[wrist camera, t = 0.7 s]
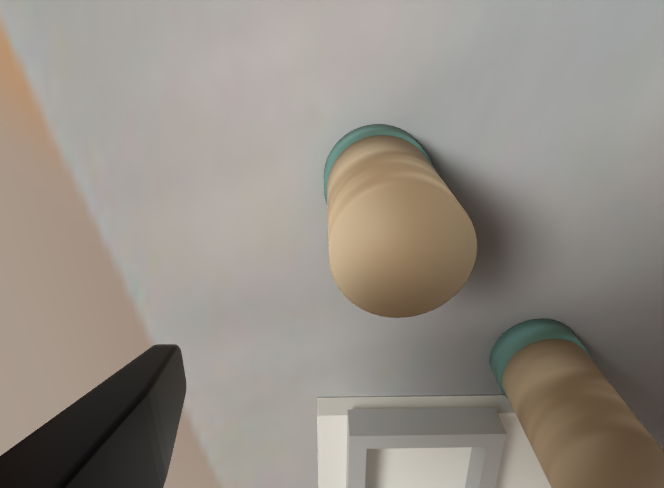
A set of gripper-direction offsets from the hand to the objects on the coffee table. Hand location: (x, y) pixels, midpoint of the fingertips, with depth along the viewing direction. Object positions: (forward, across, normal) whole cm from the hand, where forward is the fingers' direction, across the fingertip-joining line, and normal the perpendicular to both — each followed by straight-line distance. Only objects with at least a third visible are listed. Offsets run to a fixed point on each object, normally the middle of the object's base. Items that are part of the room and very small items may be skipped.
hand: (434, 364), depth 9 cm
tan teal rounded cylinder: (+12, 0, 0) cm, 12 cm away
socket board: (+12, -4, +18) cm, 22 cm away
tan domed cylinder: (+12, -8, +9) cm, 17 cm away
